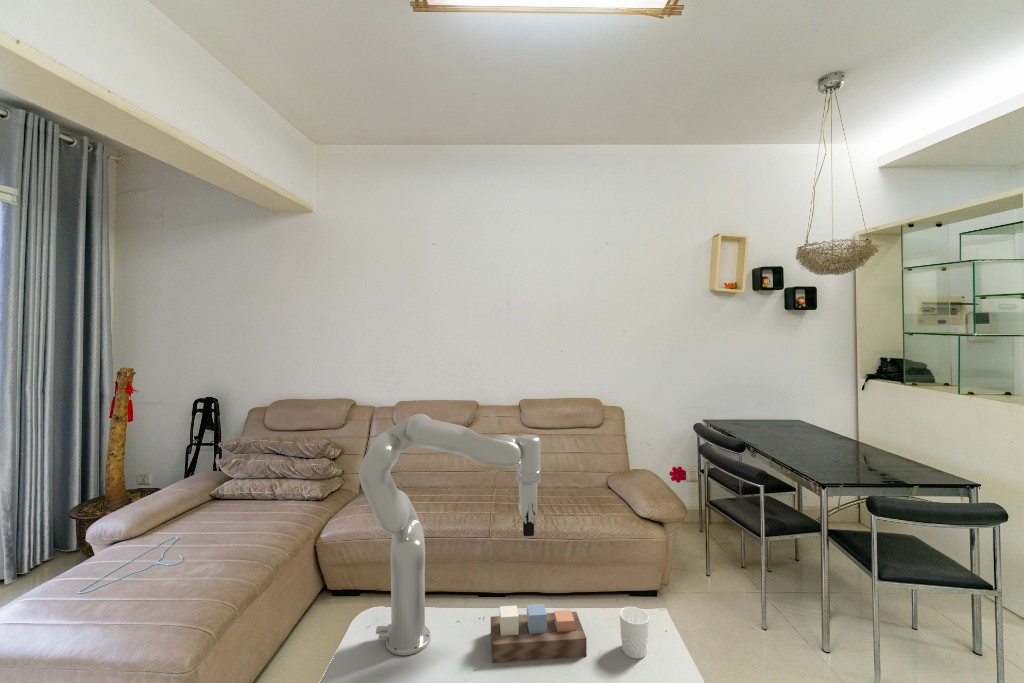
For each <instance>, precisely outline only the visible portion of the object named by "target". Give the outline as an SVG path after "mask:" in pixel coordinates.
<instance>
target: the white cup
mask: <svg viewBox="0 0 1024 683" xmlns="http://www.w3.org/2000/svg"><path fill="white" fill-rule="evenodd" d="M649 620H650V616H649V614H648V613H647V612H646V611H645V610H644V609H642V608H639V607H636V606H624V607H622V609H620V611H619V621H620V622H619V623H620V624H619V625H620V639H621V649H622V651H623V653H624V654H625V656H627V657H629V658H632V659H642V658H645V657H646V655H647V654H648V642H649V628H650V627H649V626H650V624H649V623H650V621H649Z"/></svg>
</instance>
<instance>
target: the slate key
mask: <svg viewBox="0 0 1024 683" xmlns="http://www.w3.org/2000/svg"><path fill="white" fill-rule="evenodd" d="M546 613H547V609H546V607H545V604H544V603H535V604H534V603H533V604H527V605H526V614H527V628H528V633H529V634H538V633H547V614H546Z"/></svg>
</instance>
